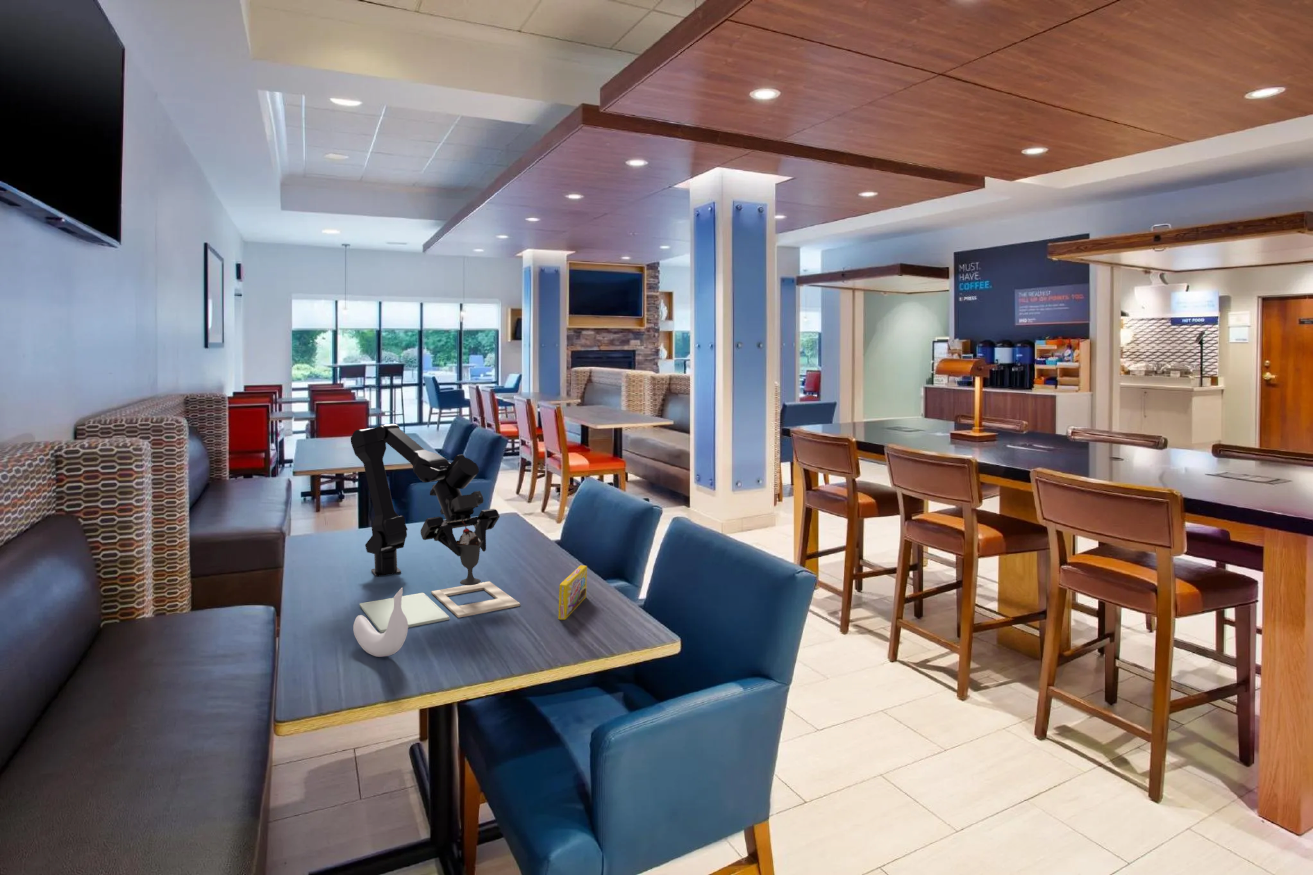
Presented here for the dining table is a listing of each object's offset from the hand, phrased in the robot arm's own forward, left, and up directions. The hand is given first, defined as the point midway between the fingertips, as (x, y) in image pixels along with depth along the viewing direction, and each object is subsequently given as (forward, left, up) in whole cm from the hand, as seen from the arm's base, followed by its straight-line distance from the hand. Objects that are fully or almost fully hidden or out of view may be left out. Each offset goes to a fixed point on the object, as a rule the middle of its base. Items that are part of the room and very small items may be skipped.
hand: (472, 552), depth 183 cm
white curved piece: (+21, -27, -12) cm, 36 cm away
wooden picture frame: (0, 0, -12) cm, 12 cm away
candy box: (+18, +18, -12) cm, 28 cm away
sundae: (-1, 0, -8) cm, 8 cm away
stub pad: (0, -17, -12) cm, 20 cm away
